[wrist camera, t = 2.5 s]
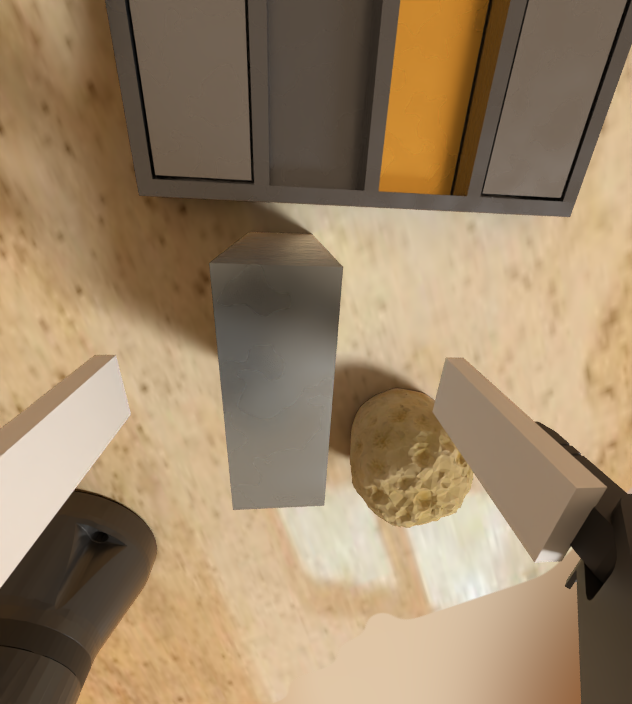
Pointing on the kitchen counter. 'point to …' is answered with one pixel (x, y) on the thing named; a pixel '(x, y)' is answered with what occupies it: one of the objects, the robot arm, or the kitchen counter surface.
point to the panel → (277, 365)
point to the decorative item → (406, 460)
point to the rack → (369, 99)
